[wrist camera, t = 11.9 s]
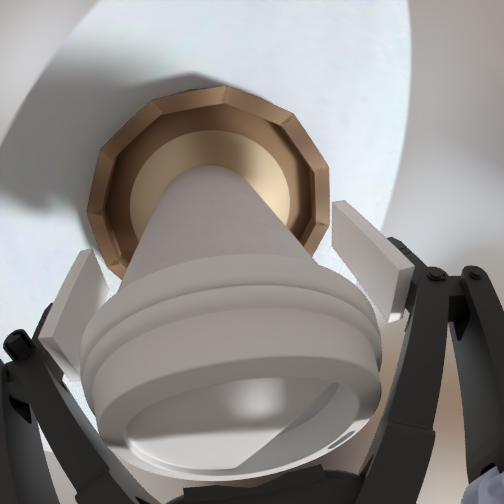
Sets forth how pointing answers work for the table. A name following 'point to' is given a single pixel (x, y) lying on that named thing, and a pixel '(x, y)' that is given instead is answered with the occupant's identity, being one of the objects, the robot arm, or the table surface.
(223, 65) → the table surface
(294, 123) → the polygonal wooden dish
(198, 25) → the table surface
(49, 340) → the robot arm
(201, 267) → the coffee cup
